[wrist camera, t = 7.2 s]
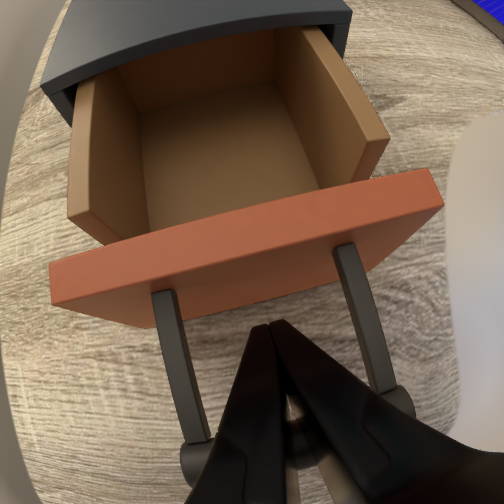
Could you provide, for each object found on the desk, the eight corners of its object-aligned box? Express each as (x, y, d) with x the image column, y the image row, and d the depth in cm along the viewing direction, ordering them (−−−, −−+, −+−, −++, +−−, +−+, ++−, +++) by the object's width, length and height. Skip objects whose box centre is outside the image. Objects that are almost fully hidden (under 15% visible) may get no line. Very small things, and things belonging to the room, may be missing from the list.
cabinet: (324, 141, 17) (353, 10, 9) (121, 191, 17) (38, 86, 9) (262, 22, 21) (259, -69, 13) (120, 57, 21) (84, -27, 13)
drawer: (402, 383, 13) (501, 398, 6) (172, 443, 12) (100, 507, 5) (291, 81, 18) (297, -17, 11) (122, 122, 18) (75, 36, 11)
